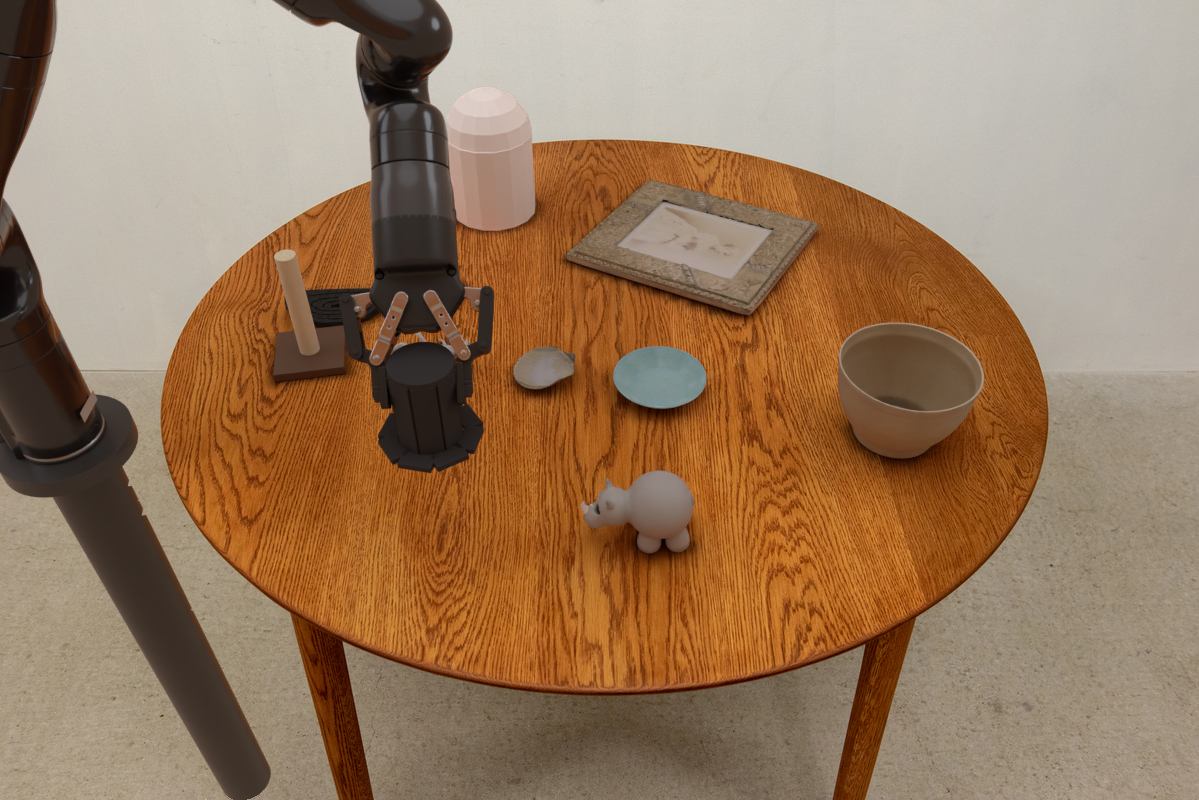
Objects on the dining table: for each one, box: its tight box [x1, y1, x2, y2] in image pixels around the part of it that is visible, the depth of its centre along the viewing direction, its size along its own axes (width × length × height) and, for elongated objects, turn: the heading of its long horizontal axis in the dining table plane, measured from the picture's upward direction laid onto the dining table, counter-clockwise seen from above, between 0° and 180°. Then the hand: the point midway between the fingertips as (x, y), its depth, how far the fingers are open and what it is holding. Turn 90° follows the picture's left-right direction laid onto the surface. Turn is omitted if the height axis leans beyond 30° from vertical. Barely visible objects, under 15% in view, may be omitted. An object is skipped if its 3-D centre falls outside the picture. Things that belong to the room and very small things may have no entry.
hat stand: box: [272, 248, 347, 383], centre depth 121 cm, size 9×9×16 cm
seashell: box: [512, 345, 577, 390], centre depth 122 cm, size 8×3×8 cm
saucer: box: [612, 345, 707, 410], centre depth 120 cm, size 12×12×2 cm
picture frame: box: [565, 179, 820, 316], centre depth 145 cm, size 27×30×3 cm
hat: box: [377, 341, 485, 474], centre depth 86 cm, size 10×10×9 cm
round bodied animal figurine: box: [580, 469, 696, 554], centre depth 100 cm, size 7×12×8 cm, turn 90°
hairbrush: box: [283, 283, 466, 328], centre depth 133 cm, size 8×4×25 cm
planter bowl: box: [837, 322, 985, 459], centre depth 112 cm, size 16×16×11 cm
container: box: [445, 86, 536, 232], centre depth 147 cm, size 14×13×20 cm
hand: (424, 405), depth 84 cm, fingers closed on hat, 6 cm apart
